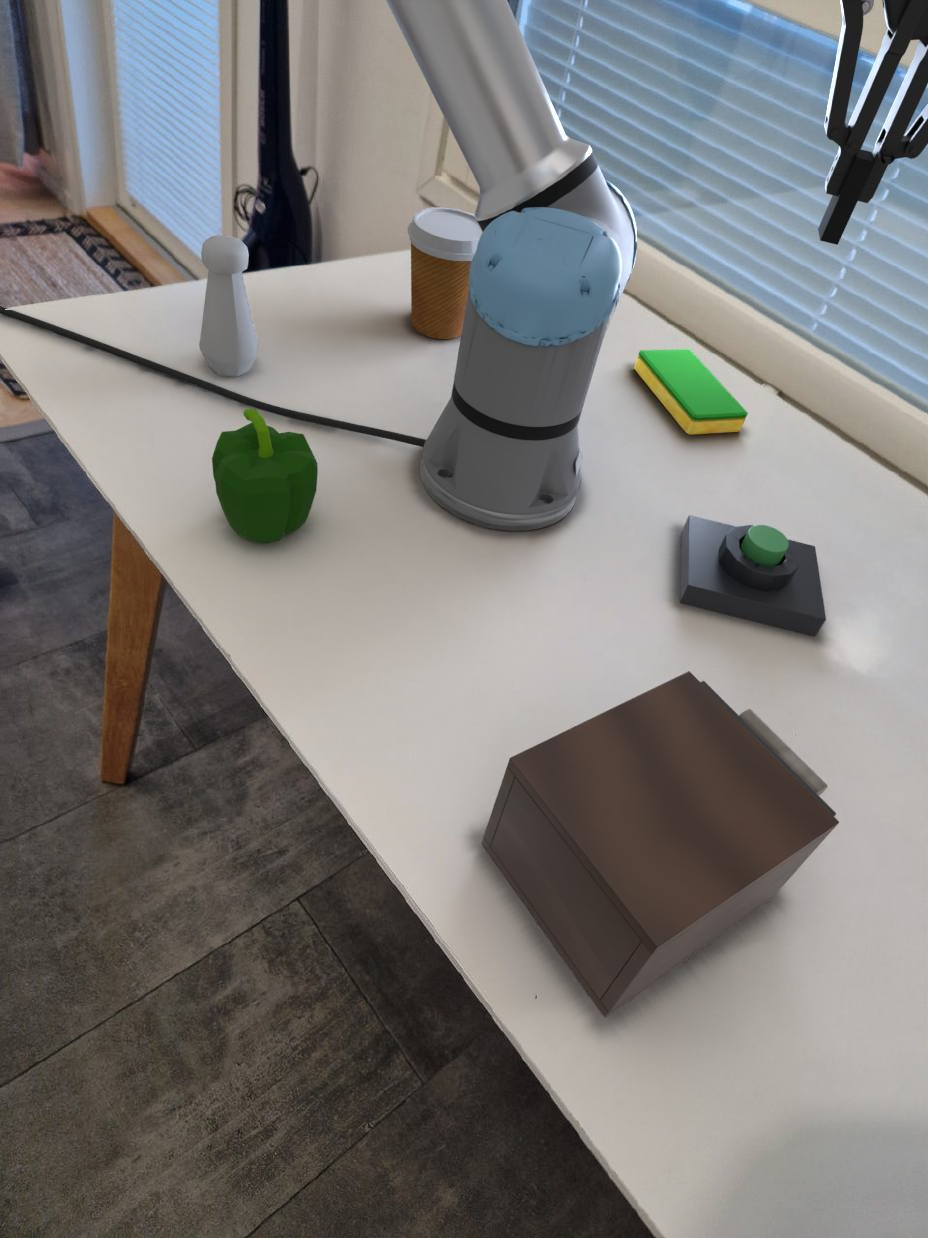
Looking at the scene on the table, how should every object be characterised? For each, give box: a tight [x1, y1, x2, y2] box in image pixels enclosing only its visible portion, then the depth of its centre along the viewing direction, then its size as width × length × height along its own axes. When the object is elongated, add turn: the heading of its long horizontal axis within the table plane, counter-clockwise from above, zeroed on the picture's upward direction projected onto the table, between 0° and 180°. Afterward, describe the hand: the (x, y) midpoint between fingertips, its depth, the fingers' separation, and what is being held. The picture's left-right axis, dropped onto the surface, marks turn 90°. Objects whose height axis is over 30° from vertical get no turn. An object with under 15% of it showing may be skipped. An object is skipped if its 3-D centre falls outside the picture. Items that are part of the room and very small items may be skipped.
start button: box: [741, 524, 789, 566], centre depth 75 cm, size 4×4×2 cm
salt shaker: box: [198, 234, 259, 378], centre depth 85 cm, size 6×6×13 cm
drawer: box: [700, 680, 837, 818], centre depth 54 cm, size 18×11×8 cm, turn 124°
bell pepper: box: [211, 407, 319, 544], centre depth 70 cm, size 8×8×10 cm
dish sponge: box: [633, 348, 749, 436], centre depth 99 cm, size 7×14×2 cm, turn 18°
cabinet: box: [481, 670, 840, 1018], centre depth 53 cm, size 15×13×10 cm
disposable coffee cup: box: [407, 206, 483, 340], centre depth 98 cm, size 10×10×12 cm
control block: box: [679, 514, 827, 638], centre depth 77 cm, size 12×10×4 cm
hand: (827, 236), depth 73 cm, fingers closed
